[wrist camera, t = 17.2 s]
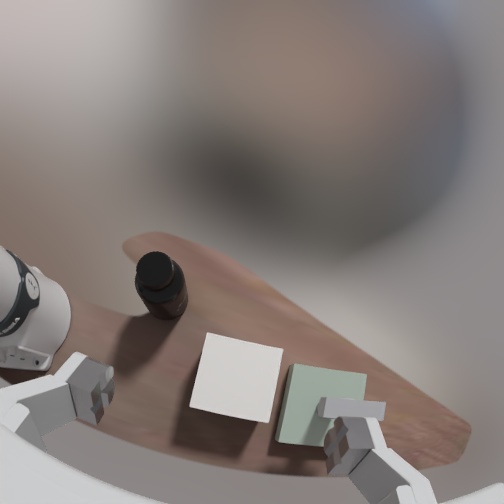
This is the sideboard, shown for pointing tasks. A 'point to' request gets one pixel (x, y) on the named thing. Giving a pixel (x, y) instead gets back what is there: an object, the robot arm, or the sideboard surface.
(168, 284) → the supplement bottle
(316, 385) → the t-shaped pedestal stand
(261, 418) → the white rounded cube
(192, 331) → the sideboard surface
